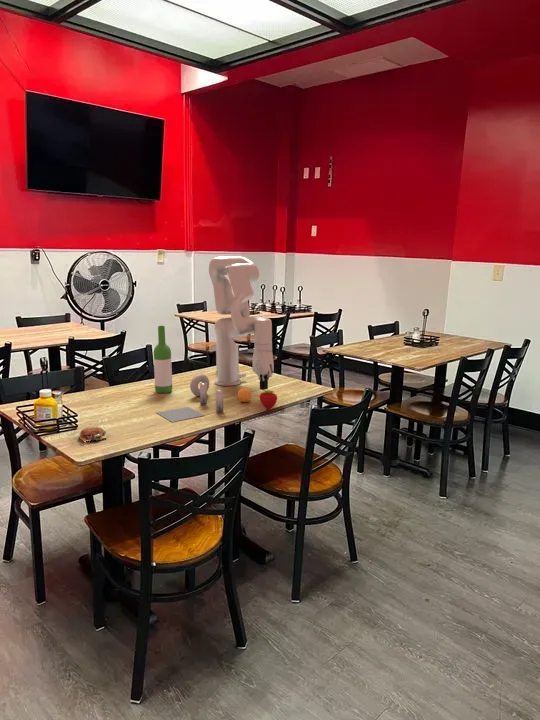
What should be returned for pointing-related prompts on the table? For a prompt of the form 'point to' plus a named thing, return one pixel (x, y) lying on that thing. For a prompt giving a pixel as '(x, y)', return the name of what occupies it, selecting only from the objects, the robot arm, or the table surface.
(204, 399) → the post
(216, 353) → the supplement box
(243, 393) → the ball
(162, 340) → the wine bottle
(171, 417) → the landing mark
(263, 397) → the strawberry
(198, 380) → the donut
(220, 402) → the post
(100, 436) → the hamburger
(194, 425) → the table surface
